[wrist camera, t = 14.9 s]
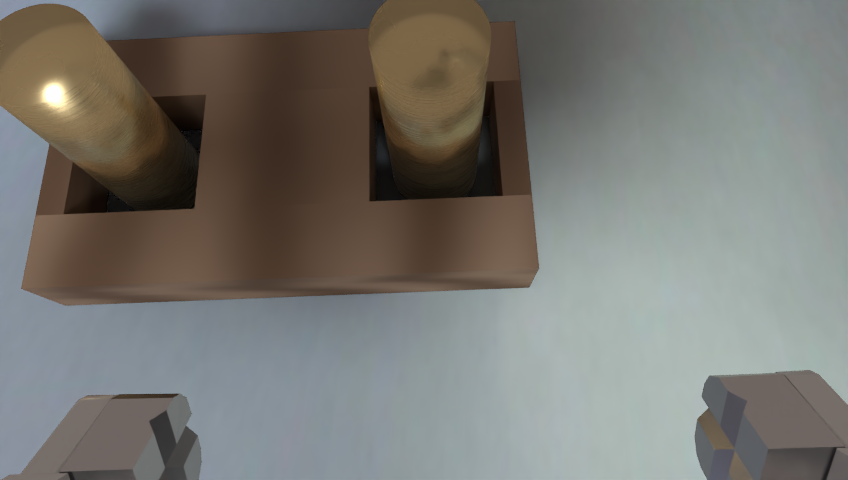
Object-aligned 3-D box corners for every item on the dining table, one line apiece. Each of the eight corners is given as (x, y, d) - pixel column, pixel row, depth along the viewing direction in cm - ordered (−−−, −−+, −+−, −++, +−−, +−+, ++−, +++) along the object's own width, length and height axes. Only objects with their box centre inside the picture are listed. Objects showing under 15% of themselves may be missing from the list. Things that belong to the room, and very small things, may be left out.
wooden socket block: (508, 60, 31) (514, 21, 28) (529, 287, 27) (538, 268, 24) (103, 79, 31) (69, 42, 28) (65, 305, 27) (21, 288, 24)
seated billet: (211, 143, 30) (104, 0, 20) (204, 218, 29) (85, 102, 19) (131, 146, 30) (-13, 6, 21) (120, 221, 29) (-39, 108, 19)
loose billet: (473, 131, 30) (486, -18, 20) (478, 206, 28) (495, 84, 19) (392, 135, 30) (368, -13, 20) (393, 210, 28) (368, 90, 19)
